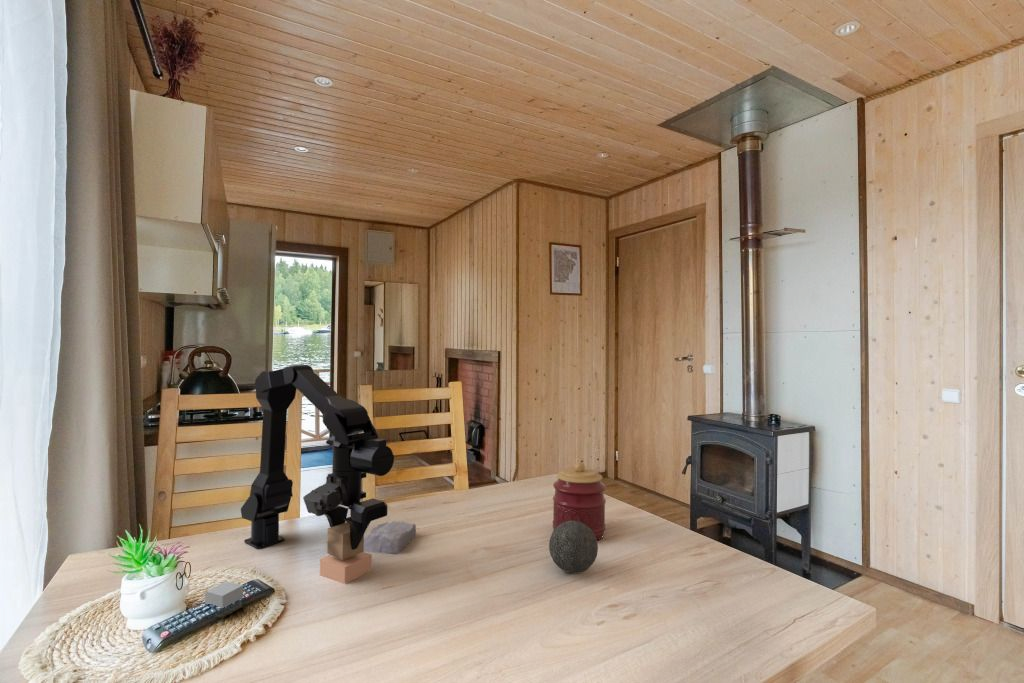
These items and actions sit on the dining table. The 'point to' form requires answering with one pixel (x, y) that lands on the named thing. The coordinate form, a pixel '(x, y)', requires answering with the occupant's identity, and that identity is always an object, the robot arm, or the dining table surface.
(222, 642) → the dining table surface
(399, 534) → the stone block
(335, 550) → the walnut cube
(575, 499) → the canister
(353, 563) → the terracotta block
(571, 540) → the decorative ball
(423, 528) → the dining table surface
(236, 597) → the grey block
